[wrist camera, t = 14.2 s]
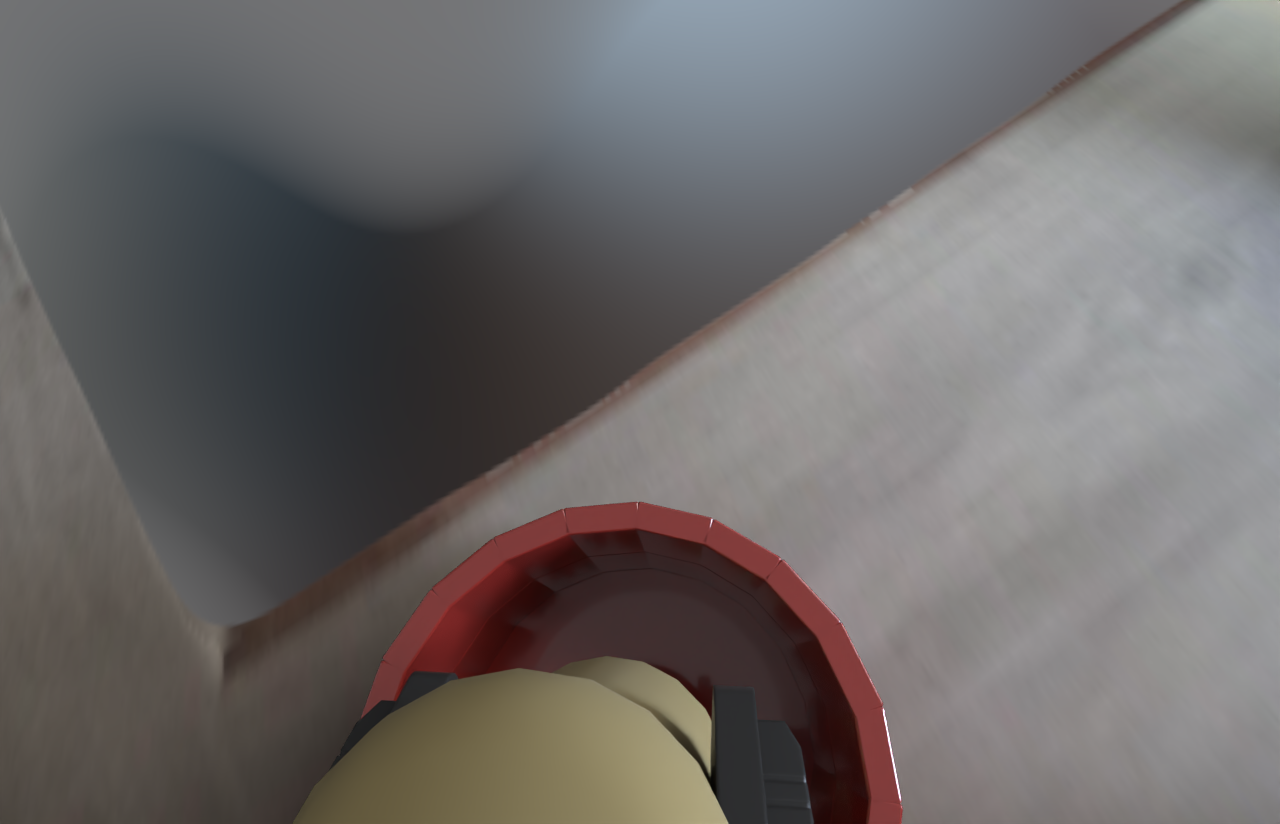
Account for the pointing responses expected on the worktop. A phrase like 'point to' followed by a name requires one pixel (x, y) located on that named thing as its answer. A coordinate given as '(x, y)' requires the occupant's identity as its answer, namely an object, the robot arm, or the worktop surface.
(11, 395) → the worktop surface
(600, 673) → the cork
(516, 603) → the pot
